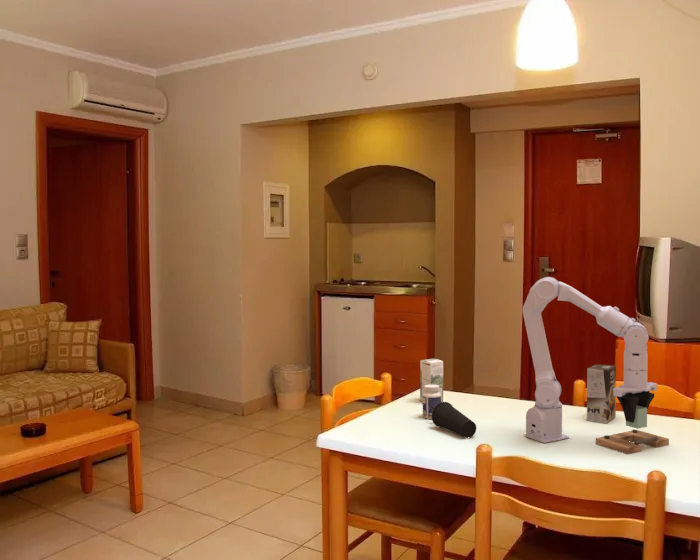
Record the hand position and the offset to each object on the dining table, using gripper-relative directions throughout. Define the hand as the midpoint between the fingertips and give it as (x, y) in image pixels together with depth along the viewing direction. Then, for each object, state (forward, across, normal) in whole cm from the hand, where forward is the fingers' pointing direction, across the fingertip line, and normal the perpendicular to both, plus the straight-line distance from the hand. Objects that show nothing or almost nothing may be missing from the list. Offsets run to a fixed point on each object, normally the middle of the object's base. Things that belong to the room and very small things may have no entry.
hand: (635, 420), depth 170 cm
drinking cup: (+4, -34, +27) cm, 43 cm away
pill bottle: (+7, -29, +51) cm, 59 cm away
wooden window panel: (+7, 0, +1) cm, 7 cm away
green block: (+1, 0, 0) cm, 1 cm away
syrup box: (+7, -17, +68) cm, 70 cm away
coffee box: (+7, +14, +23) cm, 28 cm away
